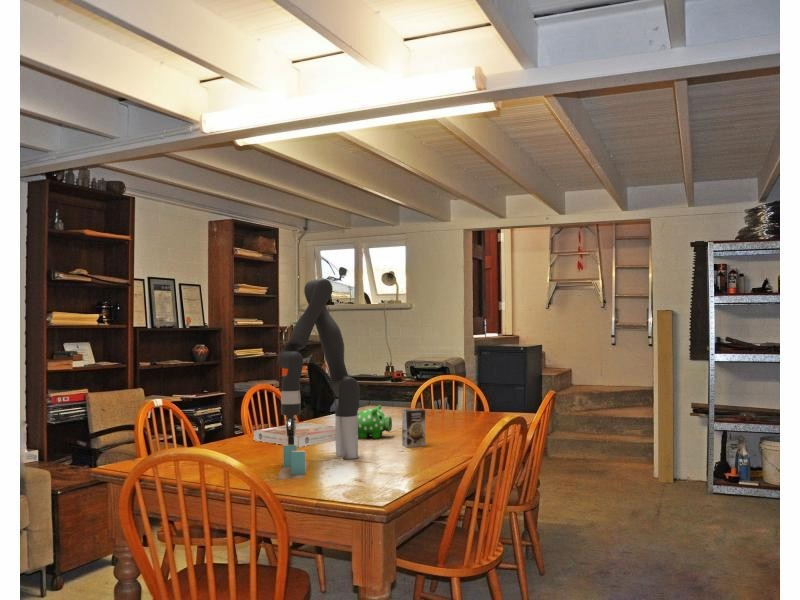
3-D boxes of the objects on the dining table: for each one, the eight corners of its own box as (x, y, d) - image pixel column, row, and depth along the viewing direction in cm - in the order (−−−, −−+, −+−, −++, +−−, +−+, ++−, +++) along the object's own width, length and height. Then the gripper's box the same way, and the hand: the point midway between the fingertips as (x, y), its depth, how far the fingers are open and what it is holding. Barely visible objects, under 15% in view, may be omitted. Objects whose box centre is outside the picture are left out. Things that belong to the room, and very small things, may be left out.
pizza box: (298, 436, 303) (253, 430, 324) (298, 448, 303) (253, 441, 323) (348, 427, 328) (303, 422, 348) (348, 438, 328) (303, 432, 348)
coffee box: (407, 447, 299) (406, 411, 300) (401, 445, 305) (401, 409, 306) (426, 446, 302) (425, 409, 303) (420, 443, 308) (419, 408, 309)
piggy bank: (387, 440, 319) (387, 408, 319) (350, 439, 322) (350, 408, 322) (392, 435, 333) (392, 404, 333) (357, 434, 336) (356, 404, 336)
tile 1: (297, 465, 259) (297, 444, 260) (296, 466, 257) (296, 445, 257) (284, 465, 259) (283, 444, 259) (283, 467, 257) (283, 445, 257)
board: (308, 465, 265) (308, 461, 265) (303, 481, 238) (303, 478, 238) (284, 465, 265) (284, 462, 265) (276, 482, 237) (276, 479, 237)
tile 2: (305, 472, 247) (305, 450, 247) (305, 473, 244) (304, 451, 245) (291, 472, 246) (291, 450, 247) (291, 474, 244) (290, 452, 244)
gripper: (299, 404, 258) (299, 449, 258) (301, 400, 272) (302, 443, 271) (279, 404, 258) (279, 450, 257) (282, 400, 271) (283, 444, 270)
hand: (291, 446), depth 264 cm, fingers closed
